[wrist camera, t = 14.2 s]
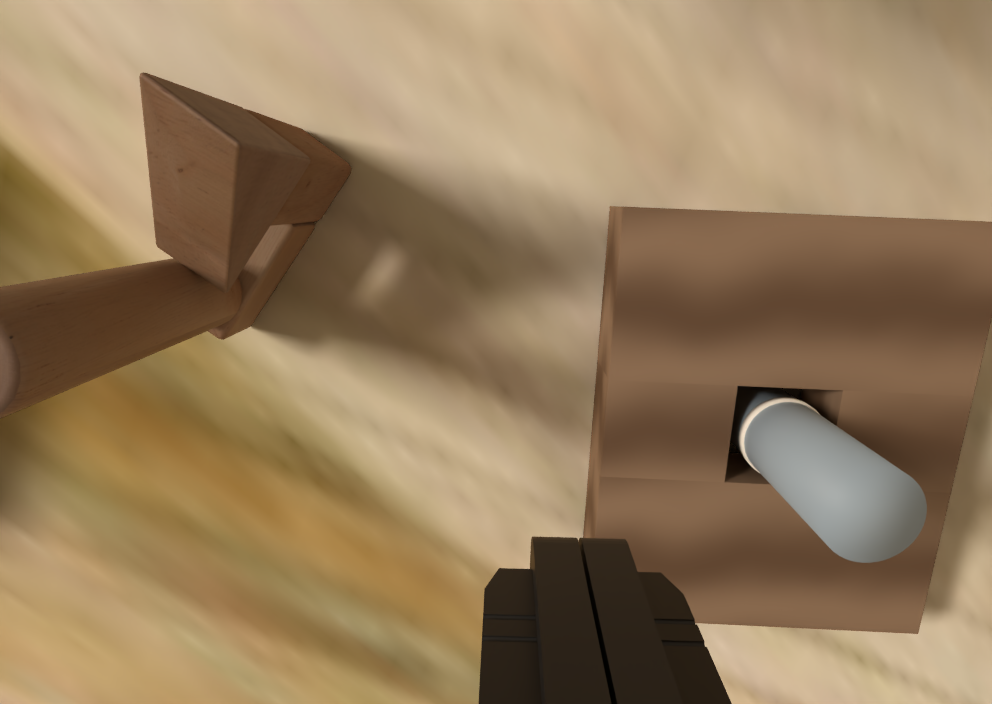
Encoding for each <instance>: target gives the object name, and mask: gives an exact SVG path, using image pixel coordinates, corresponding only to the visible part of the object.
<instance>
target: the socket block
mask: <svg viewBox="0 0 992 704" xmlns="http://www.w3.org/2000/svg"><path fill="white" fill-rule="evenodd" d="M991 318H992V222H983V221H958V220H934V219H909V218H884V217H860V216H835V215H811V214H786V213H761V212H737V211H712V210H688V209H663V208H638V207H613V206H610V213H609V225H608V237H607V250H606V262H605V274H604V287H603V299H602V312H601V324H600V336H599V349H598V361H597V373H596V386H595V398H594V410H593V423H592V435H591V447H590V460H589V472H588V484H587V497H586V509H585V521H584V534H583V538H607V539H626V541H627V542H628V545H629V548H630V551H631V554H632V557H633V560H634V562H635V565H636V568H637V571H638V572H661V573H662V574H663V575H664V576H665V577H666V578H667V579H668V580H669V581H670V582H671V583H673V584H674V585H675V586H676V587H677V588H678V589H679V590H680V591H681V592H682V593H683V594H684V596H685V598H686V601H687V603H688V605H689V607H690V610H691V612H692V614H693V617H694V619H695V623H708V624H728V625H749V626H769V627H790V628H810V629H831V630H851V631H872V632H892V633H913V634H918V632H919V627H920V623H921V619H922V615H923V610H924V606H925V602H926V597H927V593H928V589H929V584H930V580H931V576H932V572H933V567H934V563H935V559H936V554H937V550H938V546H939V542H940V537H941V533H942V529H943V524H944V520H945V516H946V512H947V507H948V503H949V499H950V494H951V490H952V486H953V481H954V477H955V473H956V469H957V464H958V460H959V456H960V451H961V447H962V443H963V439H964V434H965V430H966V426H967V421H968V417H969V413H970V408H971V404H972V400H973V396H974V391H975V387H976V383H977V378H978V374H979V370H980V366H981V361H982V357H983V353H984V348H985V344H986V340H987V336H988V331H989V327H990V323H991ZM738 386H753V387H775V388H798V389H802V394H801V400H802V401H803V402H805V403H807V404H808V405H810V406H811V407H813V408H814V409H815V410H816V411H817V412H818V413H819V414H820V415H821V416H822V417H824V418H825V419H827V420H828V421H830V422H831V423H833V424H834V425H836V426H837V427H839V428H840V429H842V430H843V431H844V432H846V433H847V434H849V435H850V436H852V437H853V438H855V439H856V440H858V441H859V442H861V443H862V444H864V445H865V446H866V447H868V448H869V449H871V450H872V451H874V452H875V453H877V454H878V455H880V456H881V457H883V458H884V459H886V460H887V461H888V462H890V463H891V464H893V465H894V466H896V467H897V468H899V469H900V470H902V471H903V472H905V473H906V474H908V475H909V476H910V477H912V478H913V479H914V480H915V481H916V482H917V483H918V484H919V486H920V487H921V489H922V491H923V493H924V495H925V499H926V504H927V514H926V519H925V523H924V526H923V528H922V530H921V532H920V533H919V535H918V537H917V538H916V539H915V540H914V542H913V543H912V544H911V545H910V546H909V547H907V548H906V549H905V550H904V551H902V552H901V553H899V554H897V555H895V556H893V557H891V558H889V559H886V560H883V561H878V562H872V563H861V562H854V561H850V560H847V559H845V558H843V557H841V556H839V555H837V554H836V553H835V552H833V551H832V550H831V549H830V548H829V547H828V546H827V545H826V543H825V542H824V541H823V540H822V539H821V538H820V537H819V536H818V535H817V534H816V533H815V532H814V531H813V529H812V528H811V527H810V526H809V525H808V524H807V523H806V522H805V521H804V520H803V519H802V518H801V517H800V515H799V514H798V513H797V512H796V511H795V510H794V509H793V508H792V507H791V506H790V505H789V504H788V503H787V501H786V500H785V499H784V498H783V497H782V496H781V495H780V494H779V493H778V492H777V491H776V490H775V489H774V487H773V486H772V485H771V484H770V483H769V482H768V481H767V480H766V479H765V478H764V477H763V476H762V475H761V473H759V472H757V471H756V470H754V469H753V468H752V467H751V466H750V465H749V463H748V462H747V461H746V460H745V459H744V457H743V455H742V454H736V453H729V446H730V438H731V431H732V424H733V417H734V409H735V402H736V395H737V387H738Z"/></svg>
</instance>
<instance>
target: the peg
mask: <svg viewBox="0 0 992 704" xmlns="http://www.w3.org/2000/svg"><path fill="white" fill-rule="evenodd" d="M730 441H731V442H732V443H733V444H734V445H735V447H736V448H737V449H738V450H739V451H740V452H741V453H742V455H743V457H744V459H745V460H746V461H747V462H748V463H749V465H750V466H751V467H752V468H753V469H754V470H756V471H757V472H759V473H761V475H762V476H763V477H764V478H765V479H766V480H767V481H768V482H769V483H770V484H771V485H772V486H773V487H774V489H775V490H776V491H777V492H778V493H779V494H780V495H781V496H782V497H783V498H784V499H785V500H786V501H787V503H788V504H789V505H790V506H791V507H792V508H793V509H794V510H795V511H796V512H797V513H798V514H799V515H800V517H801V518H802V519H803V520H804V521H805V522H806V523H807V524H808V525H809V526H810V527H811V528H812V529H813V531H814V532H815V533H816V534H817V535H818V536H819V537H820V538H821V539H822V540H823V541H824V542H825V543H826V545H827V546H828V547H829V548H830V549H831V550H832V551H833V552H835V553H836V554H837V555H839V556H841V557H843V558H845V559H847V560H850V561H854V562H861V563H872V562H878V561H883V560H886V559H889V558H891V557H893V556H895V555H897V554H899V553H901V552H902V551H904V550H905V549H906V548H907V547H909V546H910V545H911V544H912V543H913V542H914V540H915V539H916V538H917V537H918V535H919V533H920V532H921V530H922V528H923V526H924V523H925V519H926V514H927V504H926V499H925V495H924V493H923V491H922V489H921V487H920V486H919V484H918V483H917V482H916V481H915V480H914V479H913V478H912V477H910V476H909V475H908V474H906V473H905V472H903V471H902V470H900V469H899V468H897V467H896V466H894V465H893V464H891V463H890V462H888V461H887V460H886V459H884V458H883V457H881V456H880V455H878V454H877V453H875V452H874V451H872V450H871V449H869V448H868V447H866V446H865V445H864V444H862V443H861V442H859V441H858V440H856V439H855V438H853V437H852V436H850V435H849V434H847V433H846V432H844V431H843V430H842V429H840V428H839V427H837V426H836V425H834V424H833V423H831V422H830V421H828V420H827V419H825V418H824V417H822V416H821V415H820V414H819V413H818V412H817V411H816V410H815V409H814V408H813V407H811V406H810V405H808V404H807V403H805V402H803V401H802V400H799V399H796V398H795V397H793V396H792V395H790V394H789V393H787V392H786V391H784V390H783V389H781V388H775V387H753V386H738V387H737V395H736V402H735V409H734V417H733V424H732V431H731V438H730Z"/></svg>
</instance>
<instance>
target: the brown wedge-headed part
mask: <svg viewBox="0 0 992 704" xmlns="http://www.w3.org/2000/svg"><path fill="white" fill-rule="evenodd" d="M140 87H141V97H142V107H143V117H144V127H145V137H146V147H147V157H148V167H149V177H150V187H151V197H152V207H153V217H154V227H155V237H156V245H157V247H158V248H160V249H161V250H163V251H164V252H165V253H167V254H168V255H170V256H171V257H173V259H167V260H161V261H155V262H149V263H143V264H137V265H131V266H125V267H119V268H113V269H107V270H101V271H95V272H89V273H82V274H76V275H70V276H64V277H58V278H52V279H46V280H40V281H34V282H28V283H22V284H16V285H10V286H4V287H0V418H2V417H5V416H7V415H10V414H12V413H14V412H17V411H19V410H21V409H24V408H26V407H28V406H31V405H33V404H36V403H38V402H40V401H43V400H45V399H47V398H50V397H52V396H54V395H57V394H59V393H62V392H64V391H66V390H69V389H71V388H73V387H76V386H78V385H80V384H83V383H85V382H88V381H90V380H92V379H95V378H97V377H99V376H102V375H104V374H107V373H109V372H111V371H114V370H116V369H118V368H121V367H123V366H125V365H128V364H130V363H133V362H135V361H137V360H140V359H142V358H144V357H147V356H149V355H151V354H154V353H156V352H159V351H161V350H163V349H166V348H168V347H170V346H173V345H175V344H177V343H180V342H182V341H185V340H187V339H189V338H192V337H194V336H196V335H199V334H201V333H204V332H206V331H208V332H210V333H211V334H213V335H214V336H216V337H217V338H219V339H225V338H228V337H230V336H232V335H234V334H236V333H238V332H240V331H242V330H244V329H246V328H248V327H250V326H251V325H252V323H253V322H254V320H255V319H256V317H257V316H258V314H259V313H260V311H261V310H262V308H263V307H264V305H265V304H266V302H267V300H268V299H269V297H270V296H271V294H272V293H273V291H274V290H275V288H276V287H277V285H278V284H279V282H280V281H281V279H282V277H283V276H284V274H285V273H286V271H287V270H288V268H289V267H290V265H291V264H292V262H293V261H294V259H295V258H296V256H297V254H298V253H299V251H300V250H301V248H302V247H303V245H304V244H305V242H306V241H307V239H308V238H309V236H310V235H311V233H312V231H313V230H314V227H315V224H314V222H316V221H318V220H320V219H321V218H322V216H323V215H324V213H325V212H326V210H327V209H328V207H329V206H330V204H331V203H332V201H333V199H334V198H335V196H336V195H337V193H338V192H339V190H340V189H341V187H342V186H343V184H344V183H345V181H346V180H347V178H348V176H349V175H350V173H351V167H350V165H349V164H348V163H347V162H346V161H344V160H343V159H342V158H340V157H339V156H338V155H336V154H335V153H334V152H332V151H331V150H330V149H328V148H327V147H326V146H324V145H323V144H322V143H320V142H319V141H318V140H316V139H315V138H313V137H312V136H311V135H309V134H308V133H307V132H305V131H304V130H303V129H301V128H298V127H295V126H292V125H289V124H287V123H284V122H281V121H278V120H275V119H273V118H270V117H267V116H264V115H261V114H259V113H256V112H253V111H250V110H246V109H243V108H242V107H239V106H237V105H234V104H231V103H228V102H226V101H223V100H220V99H217V98H214V97H212V96H209V95H206V94H203V93H201V92H198V91H195V90H192V89H189V88H187V87H184V86H181V85H178V84H175V83H173V82H170V81H167V80H164V79H162V78H159V77H156V76H153V75H150V74H148V73H141V74H140Z"/></svg>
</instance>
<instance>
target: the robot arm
mask: <svg viewBox="0 0 992 704" xmlns="http://www.w3.org/2000/svg"><path fill="white" fill-rule="evenodd" d="M479 704H731V701H730V699H729V697H728V694H727V692H726V690H725V688H724V685H723V683H722V681H721V678H720V676H719V674H718V672H717V669H716V667H715V665H714V662H713V660H712V658H711V656H710V653H709V651H708V649H707V647H705V645H704V640H703V637H702V635H701V633H700V630H699V628H698V626H697V625H695V619H694V617H693V614H692V612H691V610H690V607H689V605H688V603H687V601H686V598H685V596H684V594H683V593H682V592H681V591H680V590H679V589H678V588H677V587H676V586H675V585H674V584H673V583H671V582H670V581H669V580H668V579H667V578H666V577H665V576H664V575H663V574H662V573H661V572H638V571H637V568H636V565H635V562H634V560H633V557H632V554H631V551H630V548H629V545H628V542H627V541H626V539H607V538H580V539H579V542H578V539H577V538H563V537H532V540H531V556H530V569H505V568H499V569H498V571H497V572H496V573H495V575H494V576H493V578H492V579H491V581H490V582H489V584H488V585H487V586H486V588H485V592H484V612H483V631H482V650H481V669H480V689H479Z"/></svg>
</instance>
